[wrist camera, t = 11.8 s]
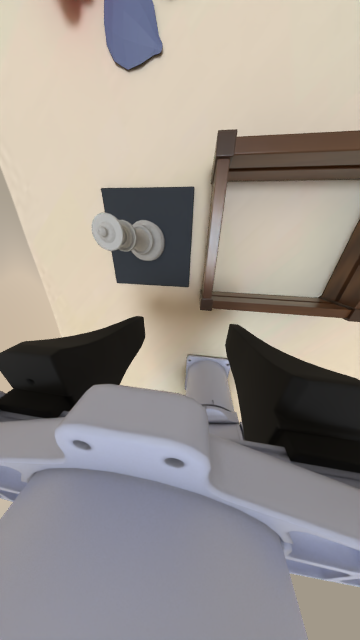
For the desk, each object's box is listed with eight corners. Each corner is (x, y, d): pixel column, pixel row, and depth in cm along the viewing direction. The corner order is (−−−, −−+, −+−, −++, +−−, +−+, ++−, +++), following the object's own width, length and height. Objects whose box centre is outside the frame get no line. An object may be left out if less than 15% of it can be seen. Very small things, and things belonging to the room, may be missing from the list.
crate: (325, 306, 19) (362, 322, 15) (199, 298, 21) (199, 310, 16) (403, 161, 13) (506, 113, 8) (212, 166, 14) (218, 129, 10)
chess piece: (147, 267, 19) (103, 278, 10) (126, 238, 18) (54, 223, 9) (172, 246, 18) (144, 238, 9) (150, 213, 17) (92, 165, 8)
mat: (188, 286, 20) (188, 287, 20) (118, 282, 21) (116, 282, 21) (194, 188, 15) (194, 186, 15) (102, 189, 16) (100, 188, 16)
